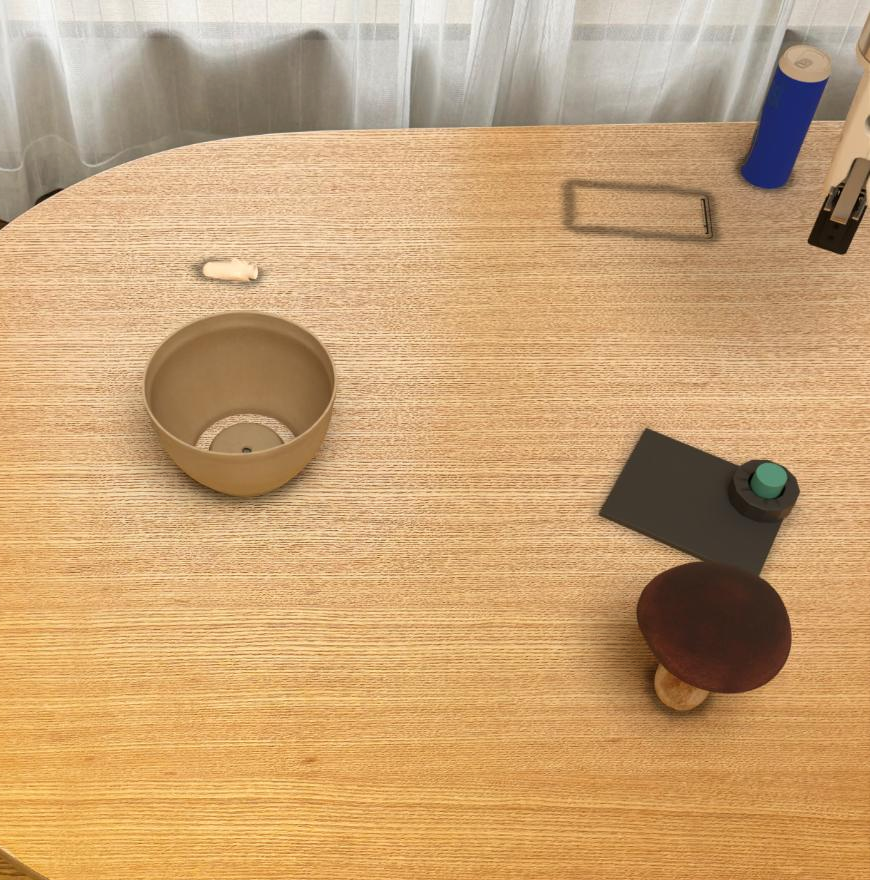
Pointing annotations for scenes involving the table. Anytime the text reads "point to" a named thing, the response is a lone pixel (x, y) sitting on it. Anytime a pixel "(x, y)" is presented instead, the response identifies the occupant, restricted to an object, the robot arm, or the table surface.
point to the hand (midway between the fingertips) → (828, 243)
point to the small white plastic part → (231, 270)
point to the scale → (698, 502)
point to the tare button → (768, 480)
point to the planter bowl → (240, 398)
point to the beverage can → (786, 116)
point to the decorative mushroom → (712, 631)
